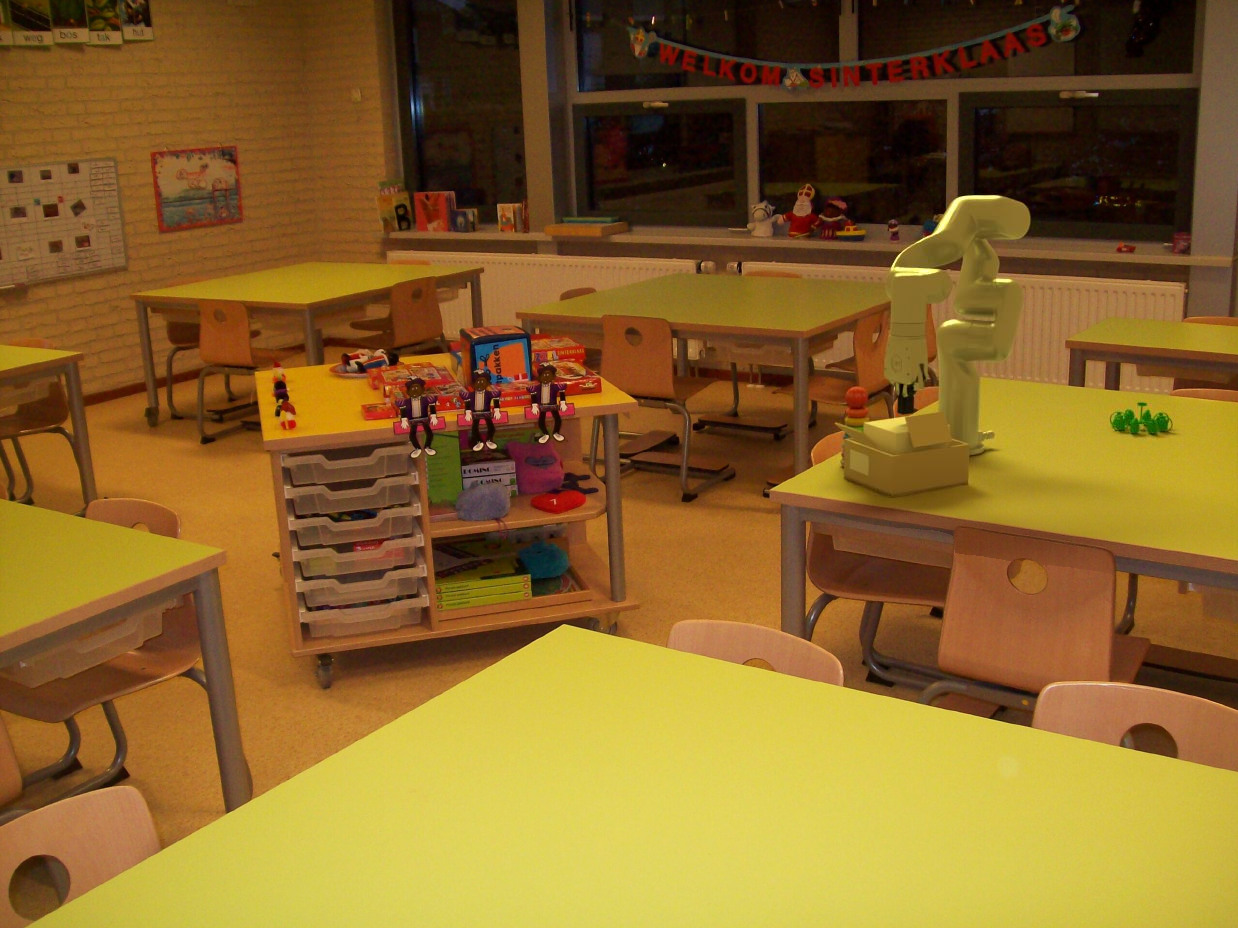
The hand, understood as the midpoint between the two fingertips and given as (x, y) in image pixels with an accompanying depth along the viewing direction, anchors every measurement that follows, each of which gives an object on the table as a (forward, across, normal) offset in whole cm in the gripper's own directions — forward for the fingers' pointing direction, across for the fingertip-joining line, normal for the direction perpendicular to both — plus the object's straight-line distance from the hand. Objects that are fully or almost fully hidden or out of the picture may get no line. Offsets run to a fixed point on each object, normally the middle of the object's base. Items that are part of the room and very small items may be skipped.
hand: (905, 413), depth 268 cm
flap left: (+2, +8, 0) cm, 8 cm away
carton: (+15, +1, 0) cm, 15 cm away
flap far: (+3, +1, -13) cm, 13 cm away
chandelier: (+14, -8, +78) cm, 80 cm away
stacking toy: (+15, -15, -2) cm, 21 cm away
